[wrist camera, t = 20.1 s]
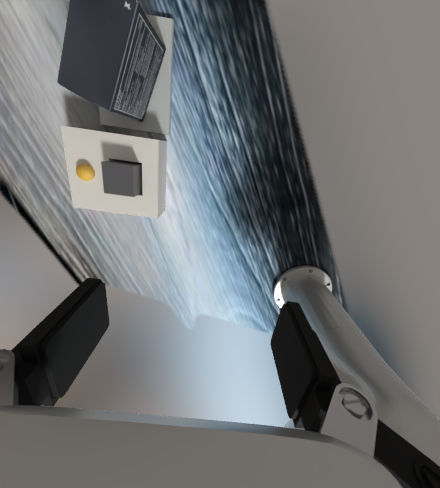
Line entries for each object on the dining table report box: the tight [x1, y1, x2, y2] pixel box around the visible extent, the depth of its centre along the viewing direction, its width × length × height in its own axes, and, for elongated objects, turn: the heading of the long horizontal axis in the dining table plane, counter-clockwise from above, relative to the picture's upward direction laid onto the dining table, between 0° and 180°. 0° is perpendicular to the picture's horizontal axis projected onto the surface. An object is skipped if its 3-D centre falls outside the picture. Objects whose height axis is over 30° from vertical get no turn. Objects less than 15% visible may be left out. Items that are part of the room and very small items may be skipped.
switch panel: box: [60, 125, 167, 218], centre depth 34 cm, size 12×14×6 cm
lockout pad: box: [99, 14, 174, 135], centre depth 31 cm, size 14×11×1 cm
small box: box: [58, 0, 166, 122], centre depth 26 cm, size 11×6×10 cm, turn 152°
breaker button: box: [101, 160, 142, 197], centre depth 33 cm, size 4×4×6 cm
